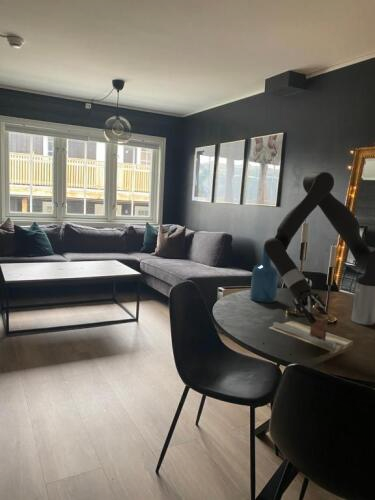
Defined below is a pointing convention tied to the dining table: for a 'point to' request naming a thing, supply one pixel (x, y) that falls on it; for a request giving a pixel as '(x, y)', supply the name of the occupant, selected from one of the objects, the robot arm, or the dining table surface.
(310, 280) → the hinge
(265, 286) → the wine bottle
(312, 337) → the rail
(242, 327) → the dining table surface
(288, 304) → the dining table surface
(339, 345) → the board
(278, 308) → the dining table surface
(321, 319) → the brown squarish block
